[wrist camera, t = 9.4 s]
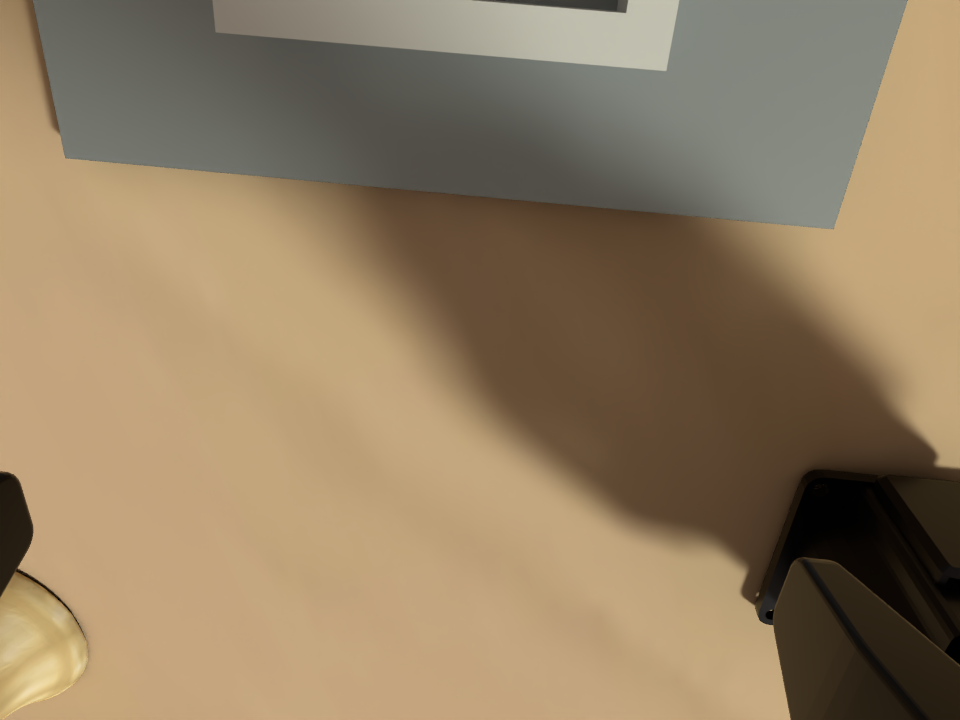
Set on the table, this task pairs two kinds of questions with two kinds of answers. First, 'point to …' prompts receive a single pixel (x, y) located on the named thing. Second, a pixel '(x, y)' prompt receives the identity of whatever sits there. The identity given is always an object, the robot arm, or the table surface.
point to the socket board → (486, 96)
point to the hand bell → (36, 646)
